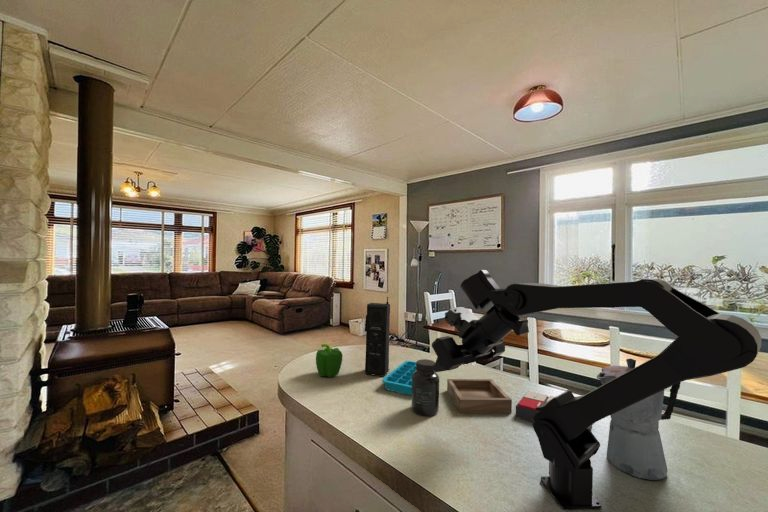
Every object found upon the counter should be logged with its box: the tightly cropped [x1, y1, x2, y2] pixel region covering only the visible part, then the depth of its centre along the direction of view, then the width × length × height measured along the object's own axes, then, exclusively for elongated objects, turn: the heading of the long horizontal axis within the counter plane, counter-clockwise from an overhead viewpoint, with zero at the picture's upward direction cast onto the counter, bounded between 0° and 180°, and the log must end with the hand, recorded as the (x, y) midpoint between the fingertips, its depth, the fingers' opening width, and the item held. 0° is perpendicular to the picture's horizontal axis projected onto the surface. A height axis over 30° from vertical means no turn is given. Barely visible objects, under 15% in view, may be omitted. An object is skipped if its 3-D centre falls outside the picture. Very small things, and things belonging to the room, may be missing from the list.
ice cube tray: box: [381, 360, 417, 396], centre depth 96 cm, size 12×20×3 cm, turn 154°
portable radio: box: [364, 296, 391, 377], centre depth 103 cm, size 8×6×25 cm
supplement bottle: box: [410, 358, 440, 417], centre depth 78 cm, size 7×7×12 cm
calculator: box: [515, 390, 593, 432], centre depth 76 cm, size 11×4×15 cm
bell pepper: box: [315, 343, 343, 378], centre depth 100 cm, size 8×8×10 cm
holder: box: [446, 378, 513, 414], centre depth 84 cm, size 13×13×3 cm
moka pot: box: [596, 358, 681, 481], centre depth 59 cm, size 10×15×20 cm, turn 94°
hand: (448, 366), depth 72 cm, fingers open, 9 cm apart
